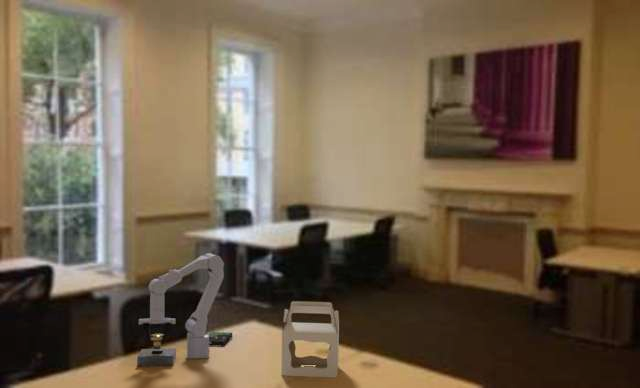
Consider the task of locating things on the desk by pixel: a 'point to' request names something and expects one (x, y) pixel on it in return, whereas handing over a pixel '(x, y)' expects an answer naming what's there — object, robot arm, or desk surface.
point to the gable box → (310, 334)
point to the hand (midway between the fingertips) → (157, 341)
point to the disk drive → (219, 338)
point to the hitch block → (156, 357)
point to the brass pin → (157, 340)
